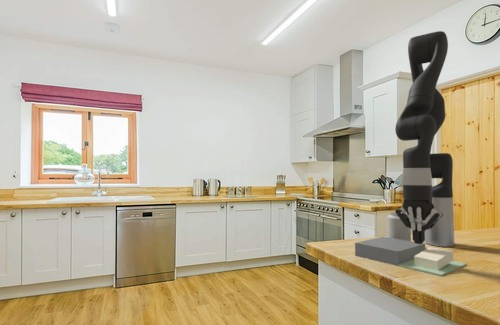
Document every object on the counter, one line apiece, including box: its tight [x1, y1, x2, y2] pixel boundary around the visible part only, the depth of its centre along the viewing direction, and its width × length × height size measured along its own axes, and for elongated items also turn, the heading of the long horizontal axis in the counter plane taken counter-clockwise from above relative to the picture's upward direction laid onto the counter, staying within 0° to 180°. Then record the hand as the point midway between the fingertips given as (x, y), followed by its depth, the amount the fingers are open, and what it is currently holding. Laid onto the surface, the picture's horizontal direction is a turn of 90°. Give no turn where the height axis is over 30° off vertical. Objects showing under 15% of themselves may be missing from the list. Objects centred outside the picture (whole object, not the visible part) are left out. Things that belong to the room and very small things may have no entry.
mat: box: [397, 259, 467, 277], centre depth 86 cm, size 16×11×1 cm
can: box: [386, 211, 412, 241], centre depth 109 cm, size 8×8×12 cm
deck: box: [354, 236, 426, 267], centre depth 96 cm, size 16×14×4 cm
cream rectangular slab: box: [414, 246, 455, 270], centre depth 85 cm, size 9×6×4 cm, turn 124°
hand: (418, 243), depth 89 cm, fingers closed
